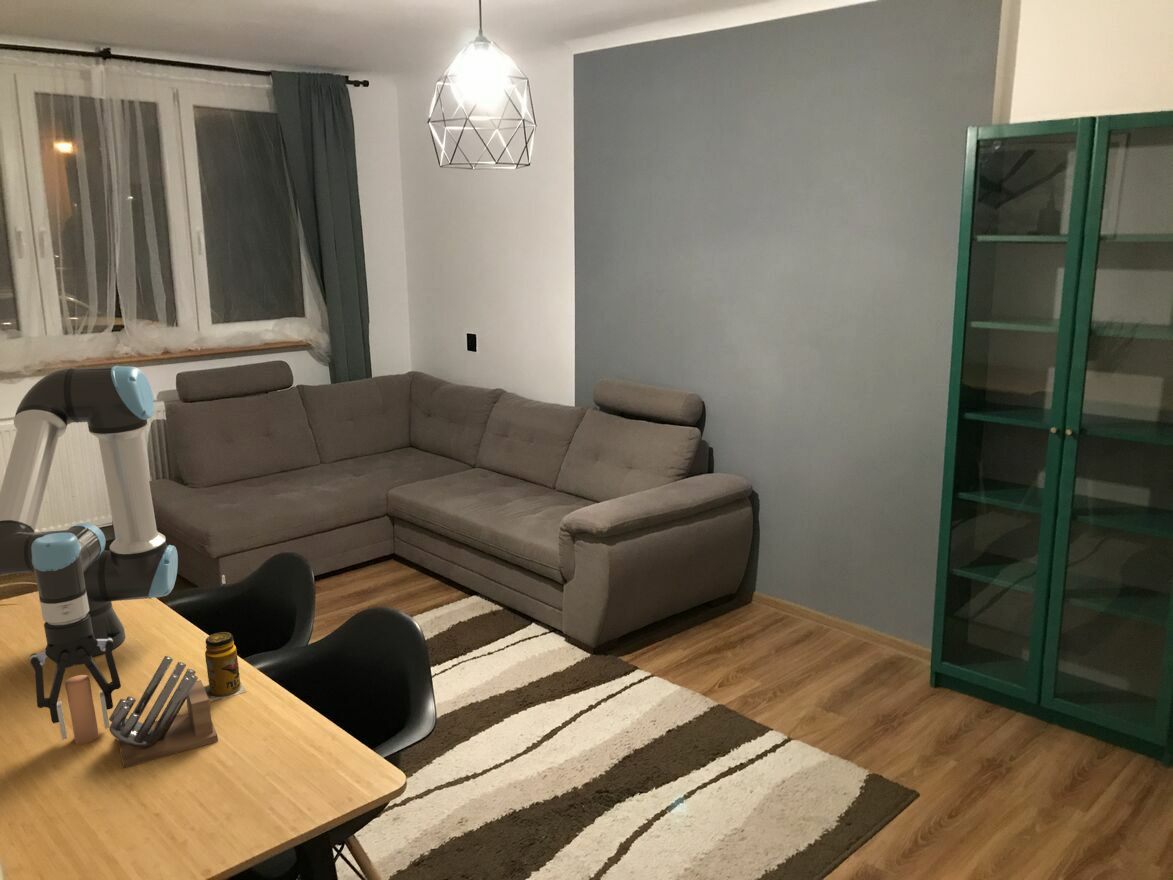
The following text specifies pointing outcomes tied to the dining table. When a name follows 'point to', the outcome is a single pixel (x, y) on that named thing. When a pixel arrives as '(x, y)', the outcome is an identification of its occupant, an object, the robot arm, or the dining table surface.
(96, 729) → the peg
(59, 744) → the dining table surface
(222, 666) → the condiment
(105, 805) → the dining table surface
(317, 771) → the dining table surface
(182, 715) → the socket base
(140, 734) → the socket
